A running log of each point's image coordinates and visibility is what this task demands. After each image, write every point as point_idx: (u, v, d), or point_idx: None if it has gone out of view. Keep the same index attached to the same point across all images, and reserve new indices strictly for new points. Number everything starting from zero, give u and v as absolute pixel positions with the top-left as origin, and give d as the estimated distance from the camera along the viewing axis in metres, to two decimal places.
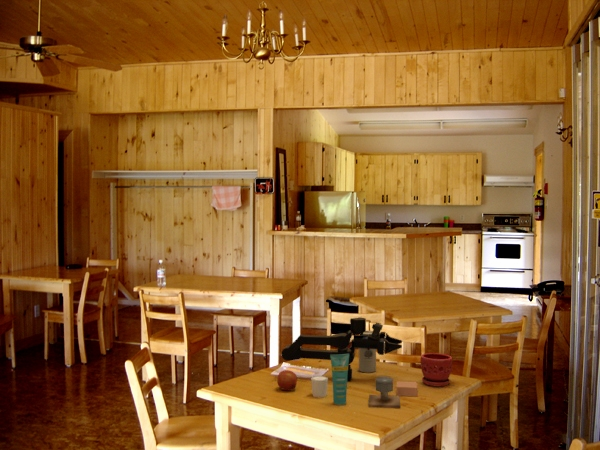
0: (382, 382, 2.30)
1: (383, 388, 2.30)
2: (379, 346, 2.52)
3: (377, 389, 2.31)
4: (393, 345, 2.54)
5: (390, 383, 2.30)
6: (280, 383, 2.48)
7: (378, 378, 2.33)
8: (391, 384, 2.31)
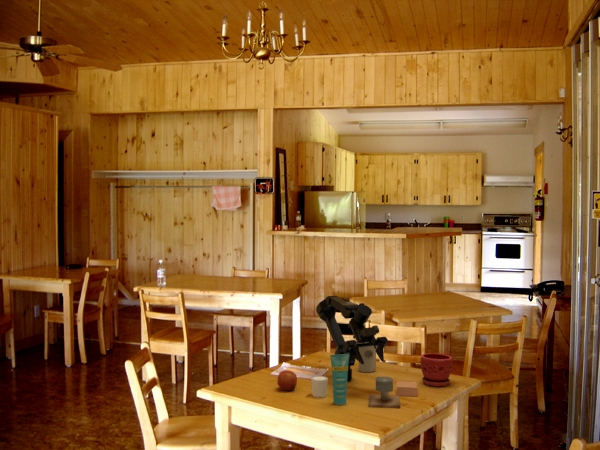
0: (382, 382, 2.30)
1: (383, 388, 2.30)
2: (345, 345, 2.42)
3: (377, 389, 2.31)
4: (358, 356, 2.40)
5: (390, 383, 2.30)
6: (280, 383, 2.48)
7: (378, 378, 2.33)
8: (391, 384, 2.31)
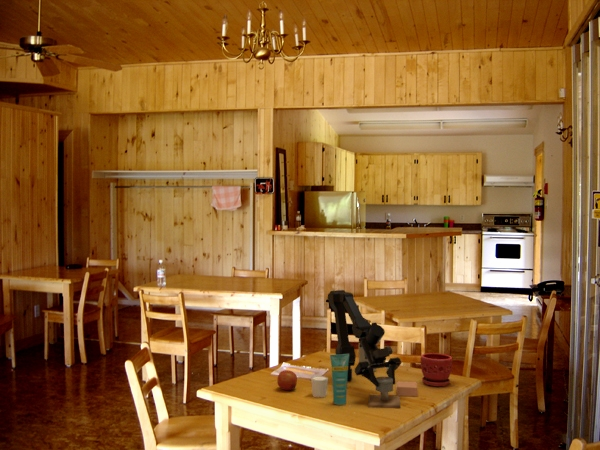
0: (382, 382, 2.30)
1: (383, 388, 2.30)
2: (357, 366, 2.33)
3: (377, 389, 2.31)
4: (372, 378, 2.31)
5: (390, 383, 2.30)
6: (280, 383, 2.48)
7: (378, 378, 2.33)
8: (391, 384, 2.31)
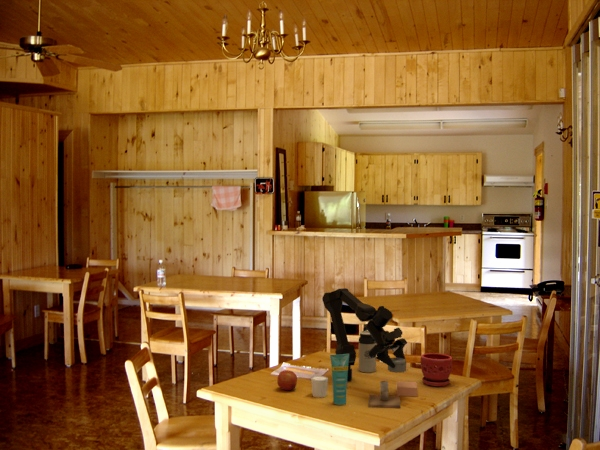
0: (398, 363, 2.34)
1: (399, 369, 2.34)
2: (373, 349, 2.34)
3: (392, 370, 2.35)
4: (388, 360, 2.35)
5: (404, 363, 2.36)
6: (280, 383, 2.48)
7: (391, 359, 2.37)
8: (405, 364, 2.36)
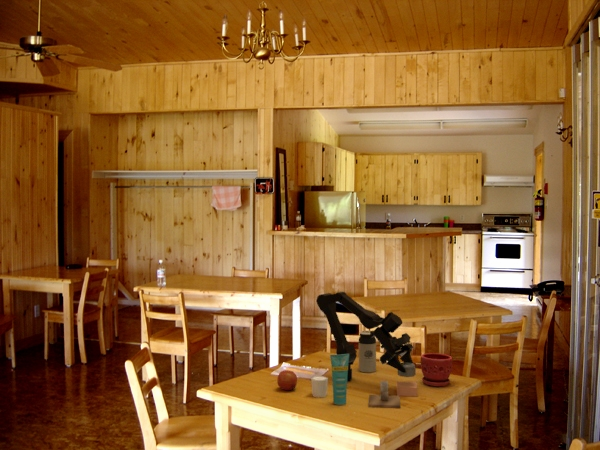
0: (408, 367, 2.41)
1: (409, 373, 2.41)
2: (384, 355, 2.40)
3: (403, 375, 2.42)
4: (399, 365, 2.41)
5: (414, 367, 2.43)
6: (280, 383, 2.48)
7: None
8: (414, 368, 2.43)
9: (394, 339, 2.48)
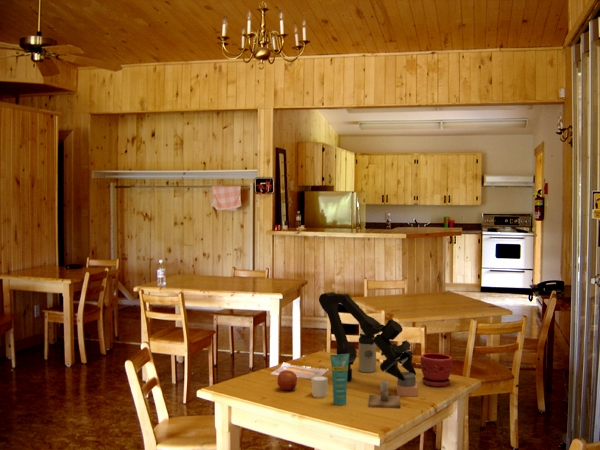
0: (408, 377, 2.41)
1: (409, 383, 2.41)
2: (384, 363, 2.40)
3: (402, 384, 2.42)
4: (398, 373, 2.40)
5: (414, 377, 2.43)
6: (280, 383, 2.48)
7: None
8: (414, 378, 2.43)
9: (394, 346, 2.48)
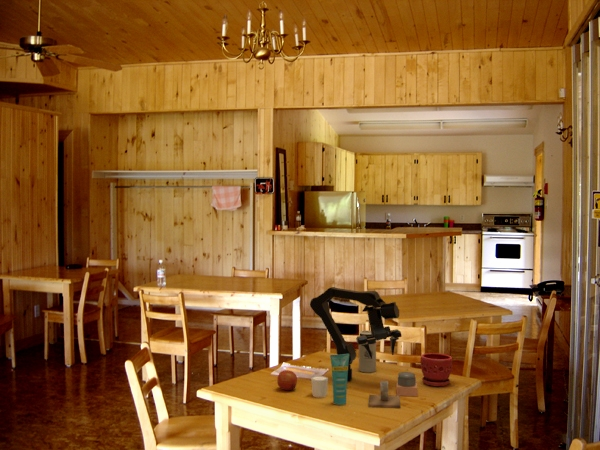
0: (408, 377, 2.41)
1: (409, 383, 2.41)
2: (357, 339, 2.56)
3: (402, 384, 2.42)
4: (367, 351, 2.55)
5: (414, 377, 2.43)
6: (280, 383, 2.48)
7: (401, 374, 2.44)
8: (414, 378, 2.43)
9: (378, 326, 2.54)
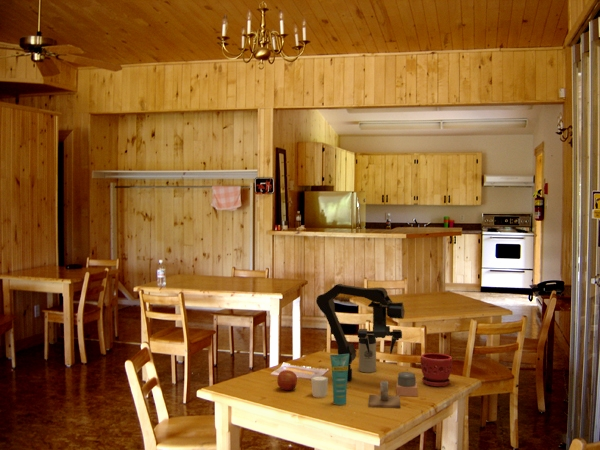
0: (408, 377, 2.41)
1: (409, 383, 2.41)
2: None
3: (402, 384, 2.42)
4: (366, 345, 2.58)
5: (414, 377, 2.43)
6: (280, 383, 2.48)
7: (401, 374, 2.44)
8: (414, 378, 2.43)
9: (380, 324, 2.54)
